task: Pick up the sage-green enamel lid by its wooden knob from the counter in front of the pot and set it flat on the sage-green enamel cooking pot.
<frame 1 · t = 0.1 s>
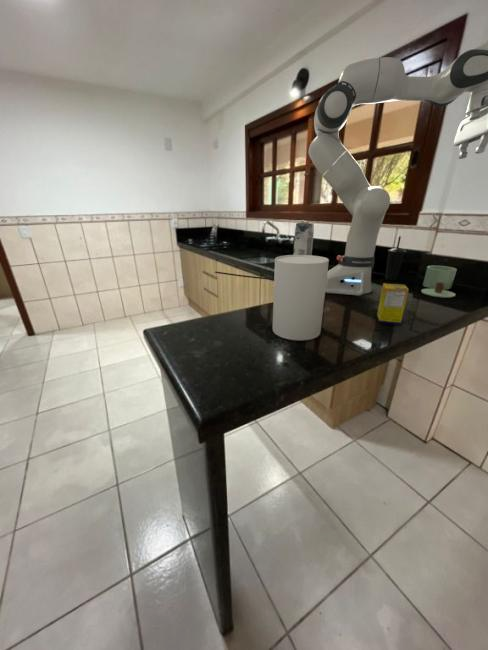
hand: (470, 155, 89), 48 cm above the worktop, tool pointing down, fingers open, 8 cm apart
canister: (296, 330, 75), on the worktop
lid: (437, 293, 104), point 1 cm above the worktop
supplement box: (387, 321, 81), on the worktop
juice carton: (301, 272, 146), on the worktop
drinking cup: (390, 279, 129), on the worktop
pot: (436, 287, 114), on the worktop
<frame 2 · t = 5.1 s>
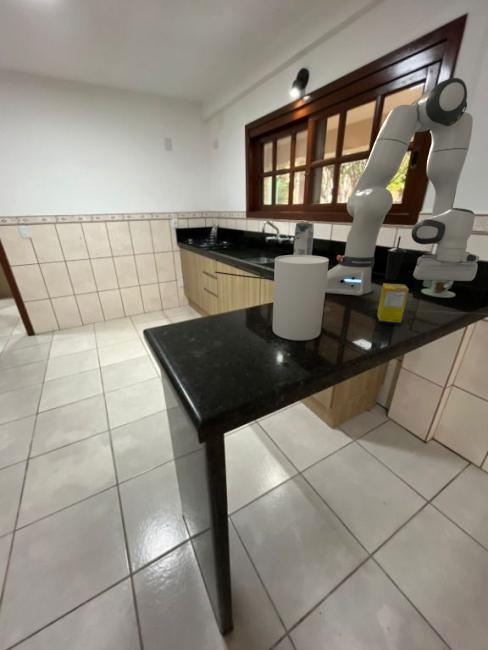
hand: (438, 291, 104), 2 cm above the worktop, tool pointing down, fingers closed on lid, 2 cm apart
lid: (437, 293, 104), point 1 cm above the worktop, touching gripper
everything else where it was.
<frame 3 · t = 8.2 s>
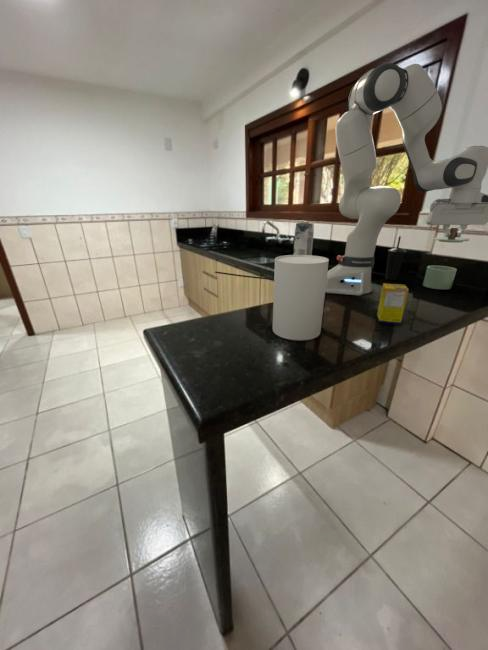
hand: (451, 237, 103), 21 cm above the worktop, tool pointing down, fingers closed on lid, 2 cm apart
lid: (451, 239, 104), point 20 cm above the worktop, touching gripper
everything else where it was.
when the fingers open (9 cm above the worktop, at t = 11.4 s): lid stays where it is, resting on pot.
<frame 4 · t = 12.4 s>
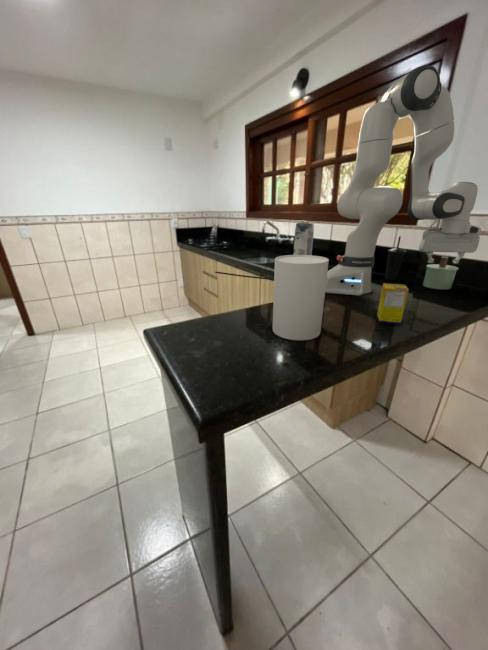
hand: (442, 263, 110), 10 cm above the worktop, tool pointing down, fingers open, 8 cm apart
lid: (441, 267, 111), point 8 cm above the worktop, touching pot
everything else where it was.
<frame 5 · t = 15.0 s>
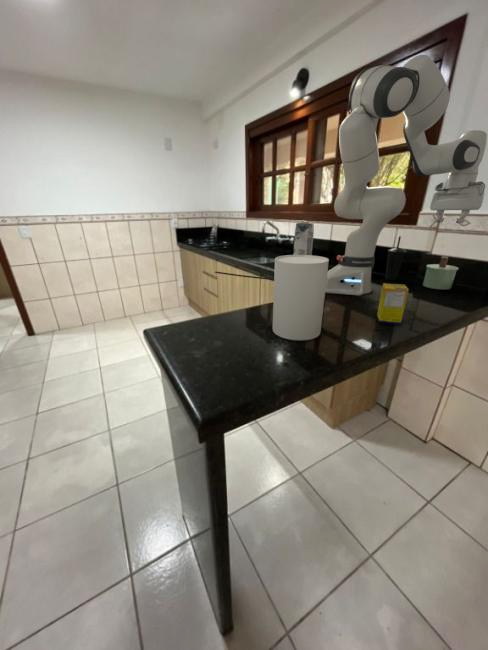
hand: (449, 222, 105), 26 cm above the worktop, tool pointing down, fingers open, 8 cm apart
nothing on the worktop moved.
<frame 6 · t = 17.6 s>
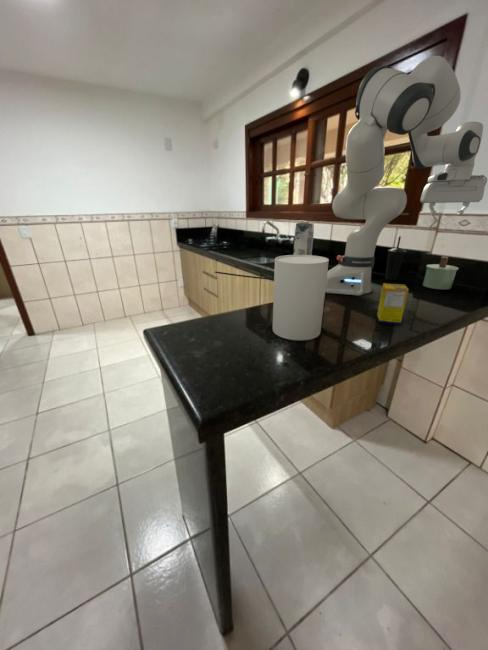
hand: (445, 215, 105), 29 cm above the worktop, tool pointing down, fingers open, 8 cm apart
nothing on the worktop moved.
at the end: lid 0.0 cm off-centre on the pot, point 8.5 cm above the pot's base; lid tilted 0°; the gripper is holding nothing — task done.
